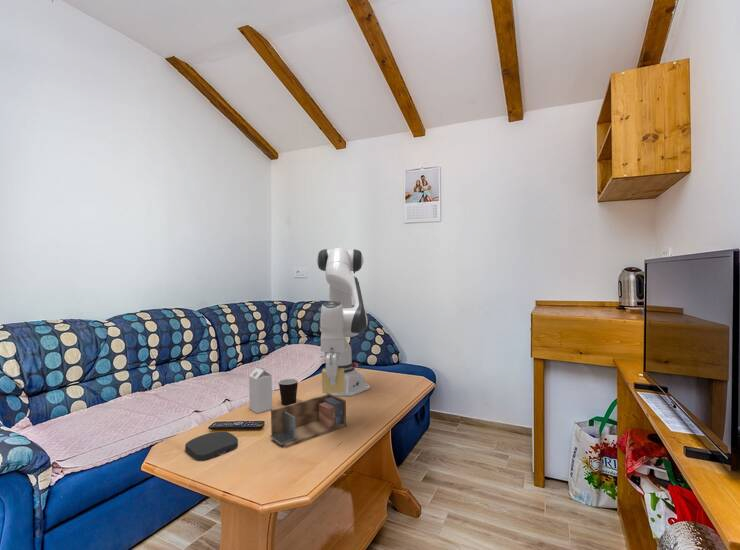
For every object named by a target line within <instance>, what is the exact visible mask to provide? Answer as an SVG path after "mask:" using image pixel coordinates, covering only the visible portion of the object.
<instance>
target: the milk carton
mask: <svg viewBox="0 0 740 550" xmlns="http://www.w3.org/2000/svg"><path fill="white" fill-rule="evenodd" d="M272 380H273V379H272V375H271V374H270V373H269V372H268V371H266V370H265V367H264V366H260V365H255V368H254V369H253V371H251V372H250V374H249V375H248V381H249V382H248V386H249V388H248V389H249V410H250V411H252V412H254V413H256V414H261V413H263V412H267V411H269V410H270V411H271V410H273V387H272V386H273V383H272Z"/></svg>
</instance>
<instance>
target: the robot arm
mask: <svg viewBox="0 0 740 550" xmlns="http://www.w3.org/2000/svg"><path fill="white" fill-rule="evenodd" d="M316 263H317V266H318V269H319V270H320V271H324V272H325V274H324V275H325V280H326V281H327V283H328V284H329V289H328V291H329V294H328V295H329V296H328V298H329V299H328V300H329V301H326V302H324V303H323V304H321V310H320V314H319V316H318V324H319V325H318V327H319V329H320V330H321V334H320V351H321V352H324V353H323V354H324V356H325V368H326V377H330V384H331V385H335V377H336V375H337V371H338V368H344V386H345V389H344V392H342V393H327V394H332V395H334V396H337V397H342V396H348V397H353V396H356V395H358V394H360V393H362V392H365V391H367V390H369V389H371V386H370V385H369V383H366V378H365V376H364V375H363V374H362V373H361V372H360V371H358V370H357V369H355V368H358V367H359V363H358V362H352V359H353V358H352V347H351V344H350V343H349V342H348V341H347V338H351V337H352V338H353V337H357V335H359V334H361V333H363V332H364V331H365V330H366V329H367V328H368V323H369V322H368V315H367V313H366V309H365V305H364V300H363V296H362V291H361V286H360V281H359V280H358V278H357V276H355V275H353V274H355V273H357V272H358V271H360V270H361V269H362V267H363V265H364V256H363V253H362V252H361V250H359V249H349V248H344V247H335V248H330V249H328V248H326V249H325V248H324V249H321V250H320V251H319V252H318V254H317V257H316ZM352 272H353V273H352Z"/></svg>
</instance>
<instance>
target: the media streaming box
mask: <svg viewBox="0 0 740 550" xmlns="http://www.w3.org/2000/svg"><path fill="white" fill-rule="evenodd" d="M238 446H239V439H238V437H237V436H235V435H234V434H233V433H231V432H228V431H213V432H209V433H205V434H202V435H200V436H199V435H198V436H196V437H194V438H192V439H190V440H188V441H187V442H186V443H185V445H184V448H185V452H186V454H187V455H188V456H190V457H191V458H193V459H194V460H196V461H197V462H198V461H200V462H202V461H203V462H204V461H208V460H211V459H214V458H217V457H220V456H222V455H224V454H227V453H229V452H232V451H235V450H236V449H237V448H238Z"/></svg>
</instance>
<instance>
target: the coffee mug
mask: <svg viewBox="0 0 740 550" xmlns="http://www.w3.org/2000/svg"><path fill="white" fill-rule="evenodd" d="M298 382H299V380H298V379H296V378H285V379H281V380H279V381H278V387H279V395H280V400H281V401H280V402H281V405H282V406H283V407H284V406H287V405H291V404H294V403H297V394H298V384H299V383H298Z"/></svg>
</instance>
